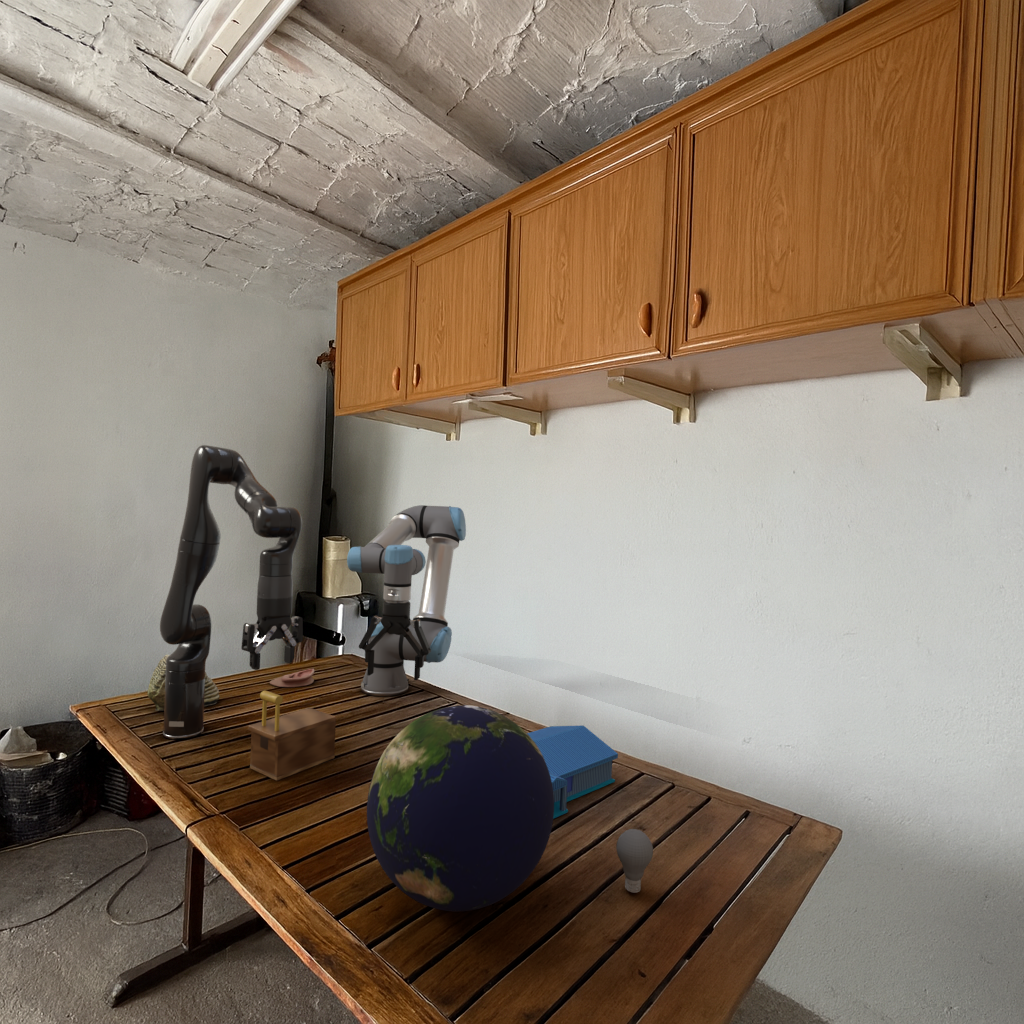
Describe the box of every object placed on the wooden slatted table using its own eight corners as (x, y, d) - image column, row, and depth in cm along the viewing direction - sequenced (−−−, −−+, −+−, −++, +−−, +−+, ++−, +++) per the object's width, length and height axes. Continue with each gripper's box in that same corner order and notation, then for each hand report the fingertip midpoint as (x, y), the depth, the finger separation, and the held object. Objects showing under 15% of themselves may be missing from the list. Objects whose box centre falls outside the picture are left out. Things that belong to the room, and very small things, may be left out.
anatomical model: (264, 673, 208) (283, 664, 219) (264, 685, 208) (283, 676, 219) (301, 677, 205) (319, 668, 216) (301, 689, 205) (318, 679, 216)
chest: (276, 780, 140) (278, 740, 140) (249, 768, 146) (251, 729, 146) (334, 758, 154) (335, 720, 153) (307, 747, 159) (309, 711, 159)
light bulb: (610, 879, 108) (613, 822, 108) (644, 879, 109) (647, 822, 109) (619, 902, 102) (622, 840, 102) (655, 901, 103) (658, 840, 103)
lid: (274, 740, 139) (276, 700, 139) (247, 729, 145) (249, 690, 145) (335, 720, 153) (337, 683, 153) (309, 711, 159) (310, 675, 159)
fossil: (144, 707, 182) (145, 655, 182) (212, 696, 194) (213, 647, 194) (151, 716, 175) (153, 662, 175) (221, 703, 188) (223, 653, 188)
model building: (497, 843, 118) (499, 790, 118) (422, 794, 136) (424, 748, 136) (626, 786, 145) (628, 743, 144) (549, 751, 163) (551, 713, 163)
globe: (322, 922, 94) (330, 722, 94) (423, 829, 122) (430, 674, 122) (507, 988, 83) (517, 762, 83) (572, 869, 111) (580, 699, 110)
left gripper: (256, 600, 136) (254, 675, 136) (311, 593, 147) (309, 662, 148) (236, 595, 140) (233, 668, 140) (291, 589, 152) (288, 657, 152)
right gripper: (348, 599, 174) (345, 675, 175) (436, 606, 170) (432, 684, 171) (359, 595, 182) (356, 668, 182) (443, 602, 178) (440, 677, 178)
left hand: (272, 665), depth 144 cm, fingers open, 8 cm apart
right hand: (393, 676), depth 177 cm, fingers open, 13 cm apart
